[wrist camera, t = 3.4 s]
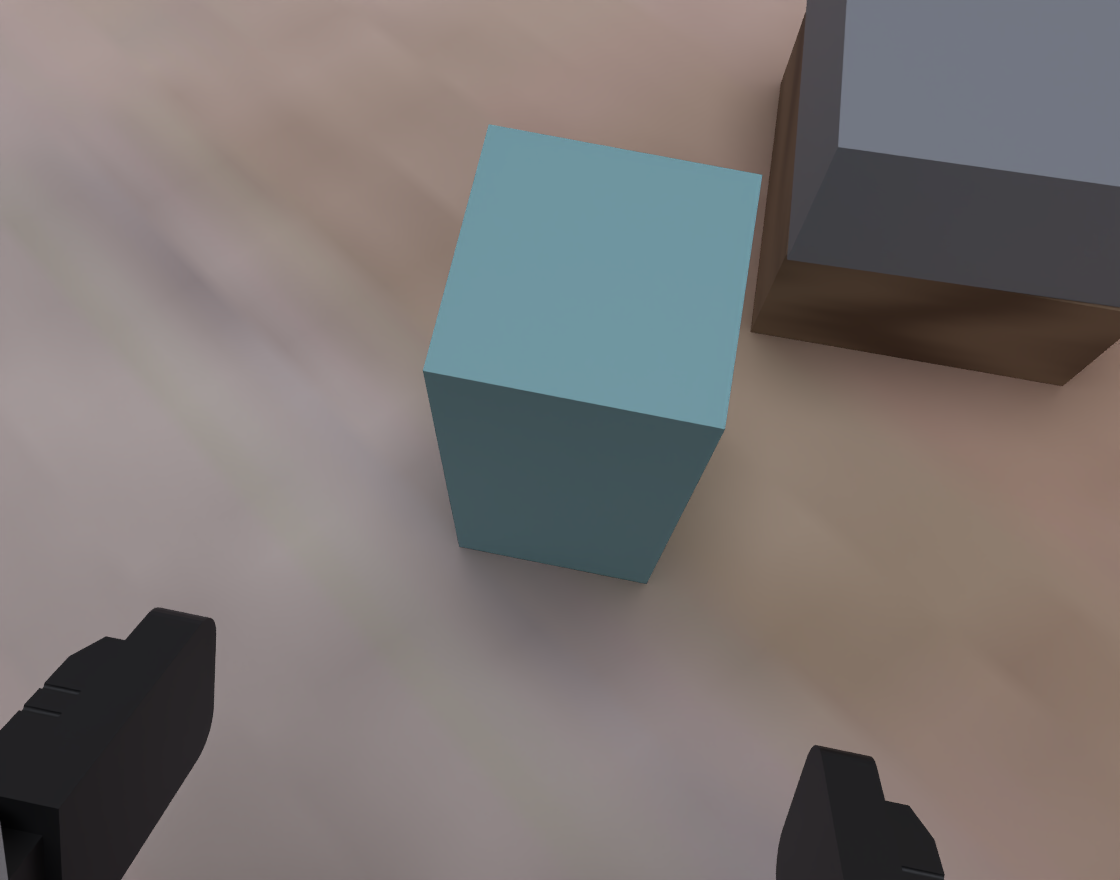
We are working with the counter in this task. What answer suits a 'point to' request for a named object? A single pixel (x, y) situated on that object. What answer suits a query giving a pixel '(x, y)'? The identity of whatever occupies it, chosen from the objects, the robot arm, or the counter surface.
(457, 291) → the teal block
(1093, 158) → the top slab
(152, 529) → the counter surface
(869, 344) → the bottom slab
